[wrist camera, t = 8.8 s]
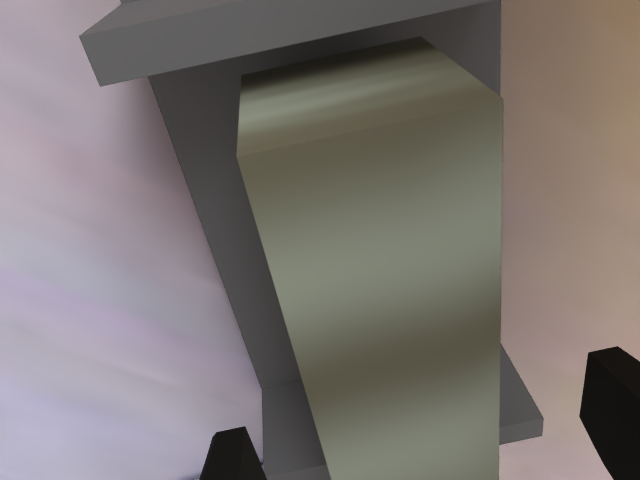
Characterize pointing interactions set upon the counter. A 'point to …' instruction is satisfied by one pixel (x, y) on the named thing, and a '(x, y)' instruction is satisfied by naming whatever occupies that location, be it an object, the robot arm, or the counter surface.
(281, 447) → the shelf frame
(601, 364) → the robot arm
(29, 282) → the counter surface
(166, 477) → the counter surface
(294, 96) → the olive green rectangular block
